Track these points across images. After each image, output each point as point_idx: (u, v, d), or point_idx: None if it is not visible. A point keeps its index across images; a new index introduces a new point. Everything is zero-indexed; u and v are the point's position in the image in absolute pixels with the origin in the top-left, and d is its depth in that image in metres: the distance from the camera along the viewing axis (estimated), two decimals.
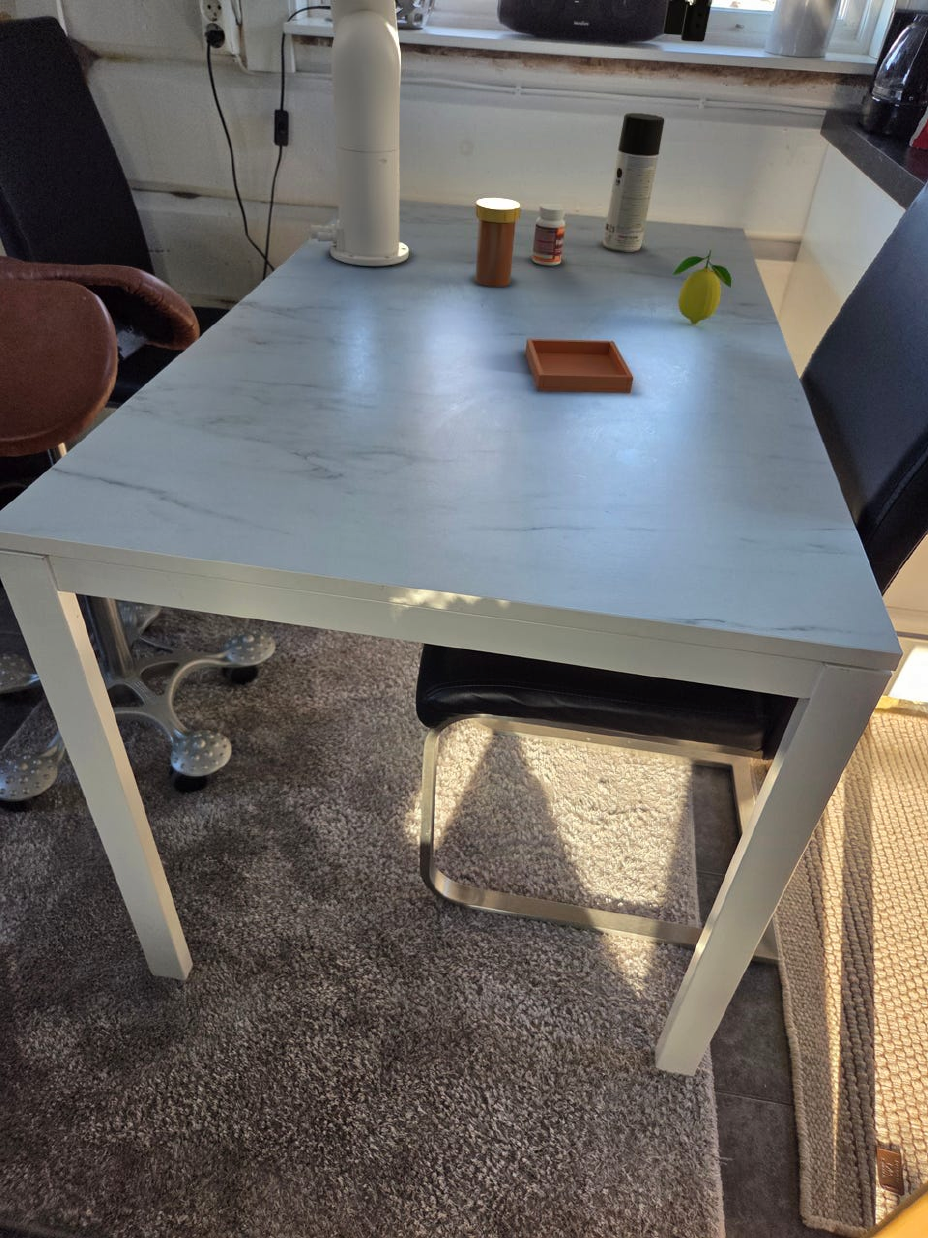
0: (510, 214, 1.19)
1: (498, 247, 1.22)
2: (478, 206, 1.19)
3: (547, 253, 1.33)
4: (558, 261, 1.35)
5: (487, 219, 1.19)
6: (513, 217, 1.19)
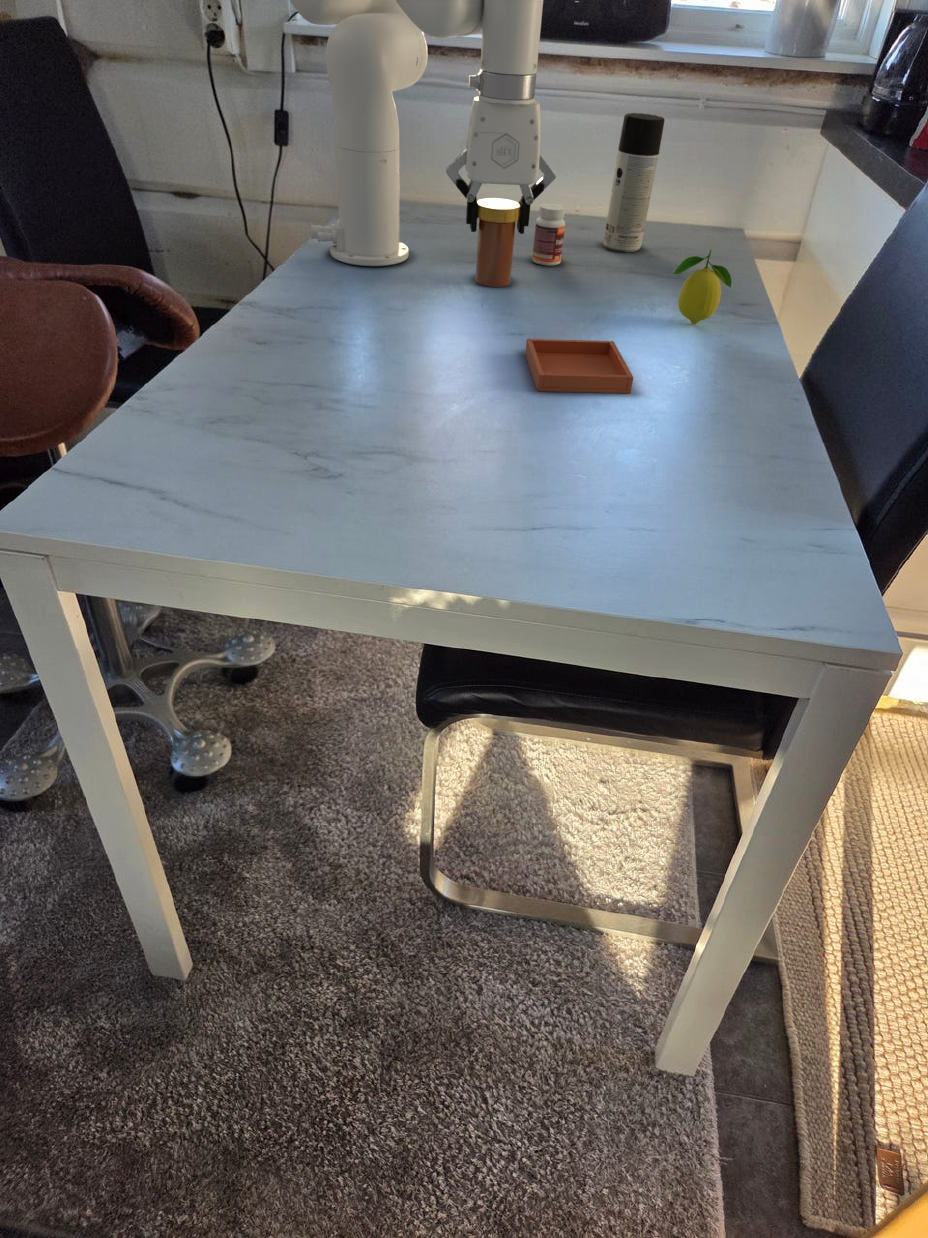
0: (510, 214, 1.19)
1: (498, 247, 1.22)
2: (478, 206, 1.19)
3: (547, 253, 1.33)
4: (558, 261, 1.35)
5: (487, 219, 1.19)
6: (513, 217, 1.19)
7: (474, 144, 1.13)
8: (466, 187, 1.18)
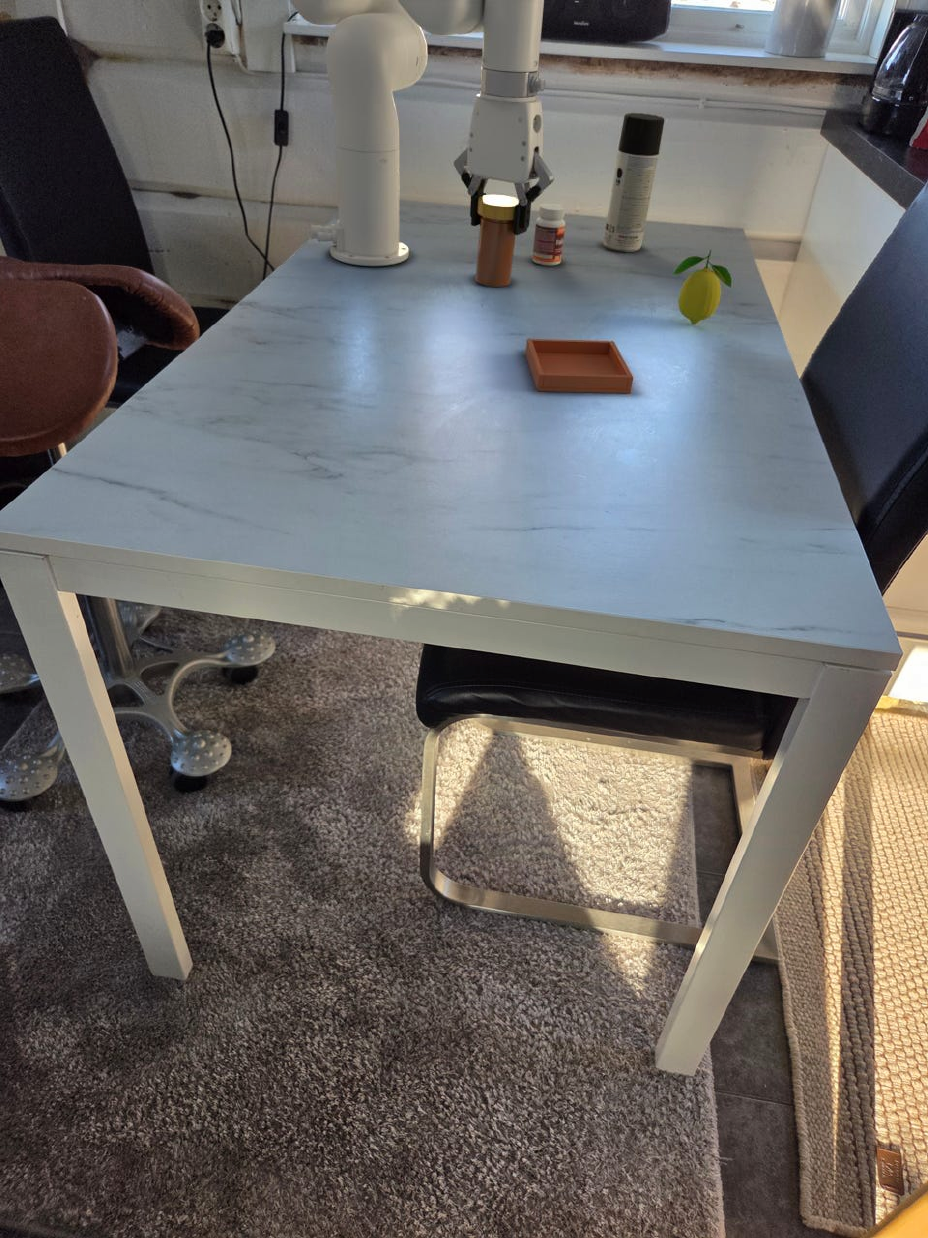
0: None
1: (499, 247, 1.21)
2: None
3: (547, 253, 1.33)
4: (558, 261, 1.35)
5: None
6: None
7: None
8: None
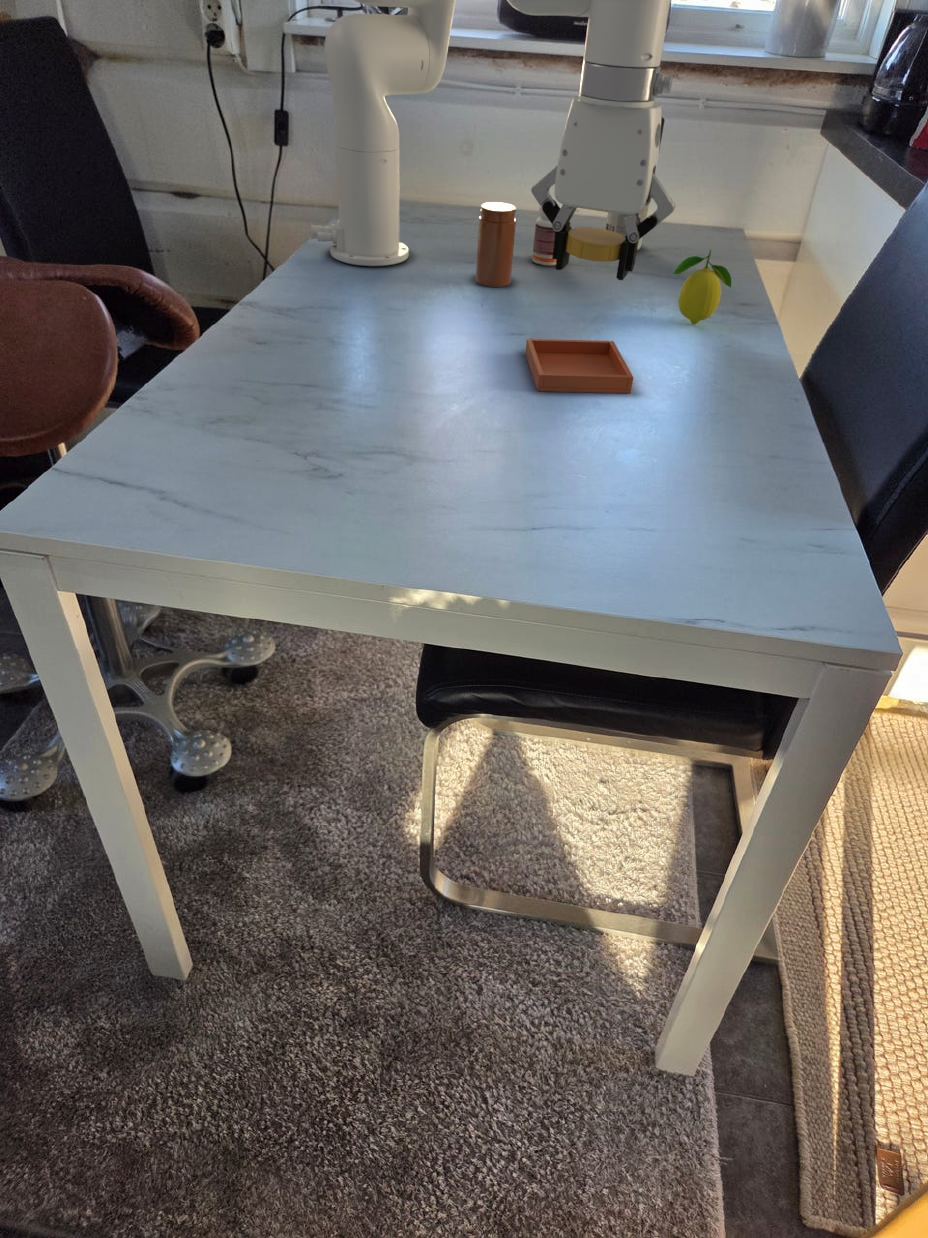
0: None
1: (498, 247, 1.22)
2: None
3: (547, 253, 1.33)
4: None
5: None
6: None
7: None
8: None
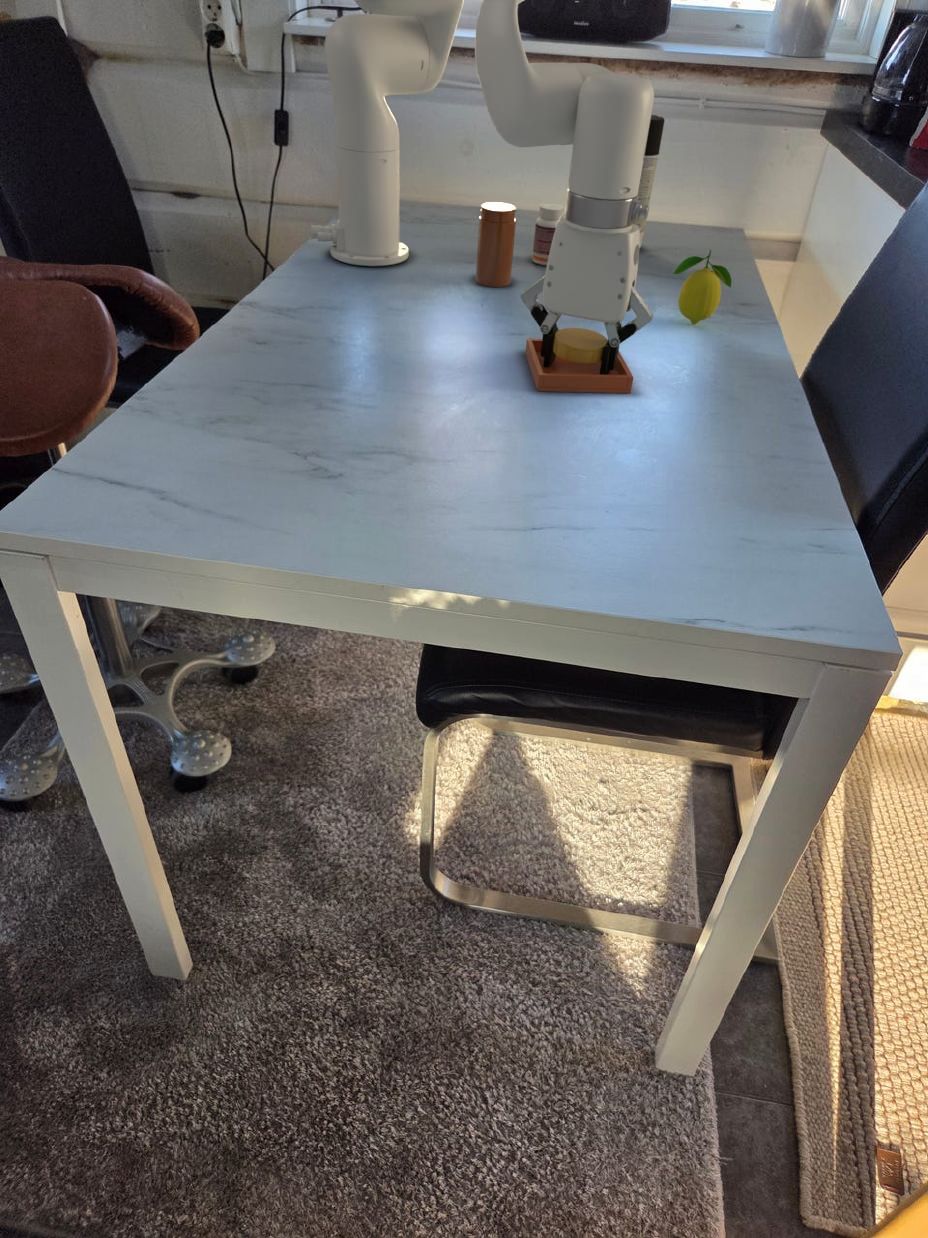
0: None
1: (498, 247, 1.22)
2: None
3: (547, 253, 1.33)
4: None
5: None
6: None
7: None
8: (625, 327, 0.97)
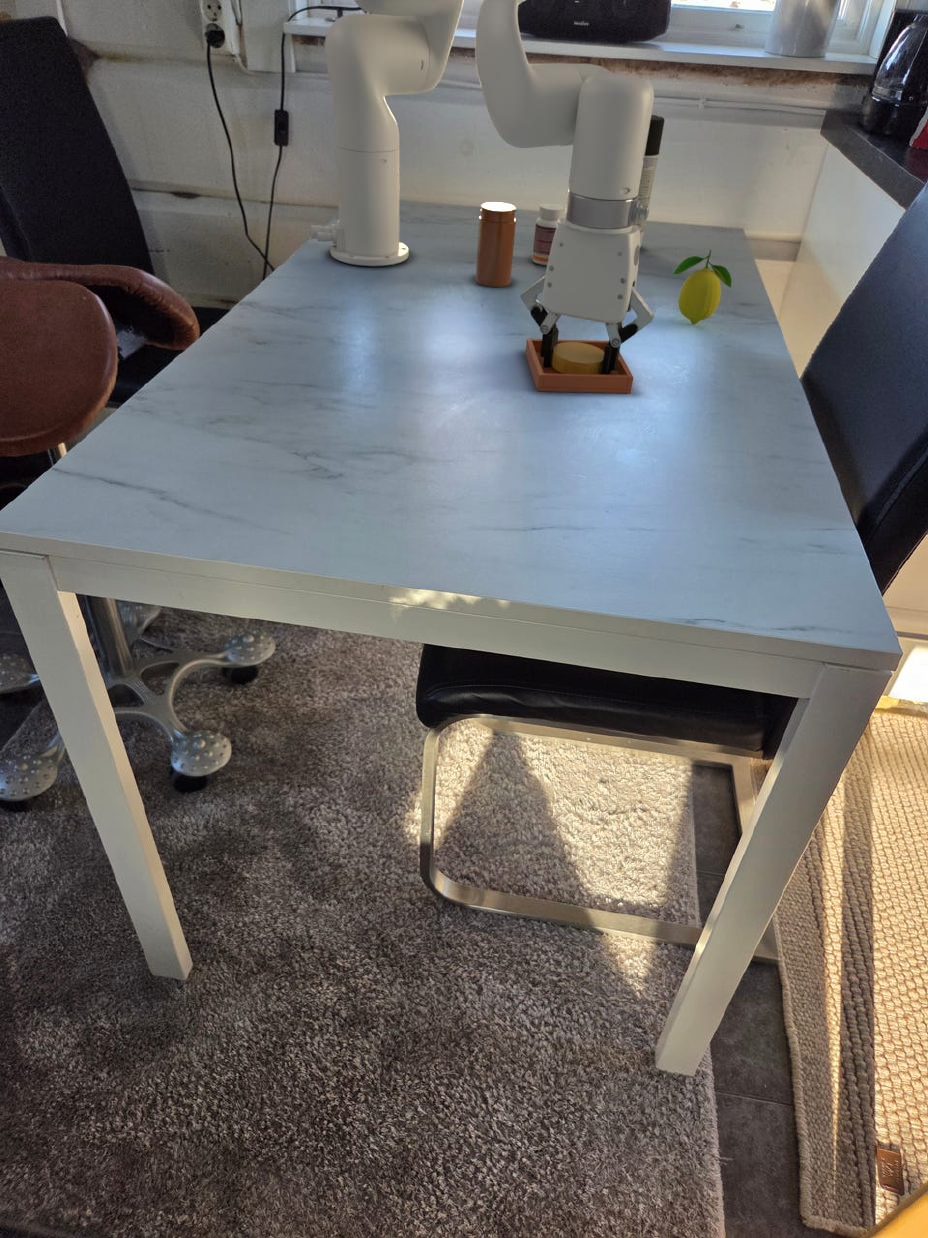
0: None
1: (498, 247, 1.22)
2: None
3: (547, 253, 1.33)
4: None
5: None
6: None
7: None
8: None
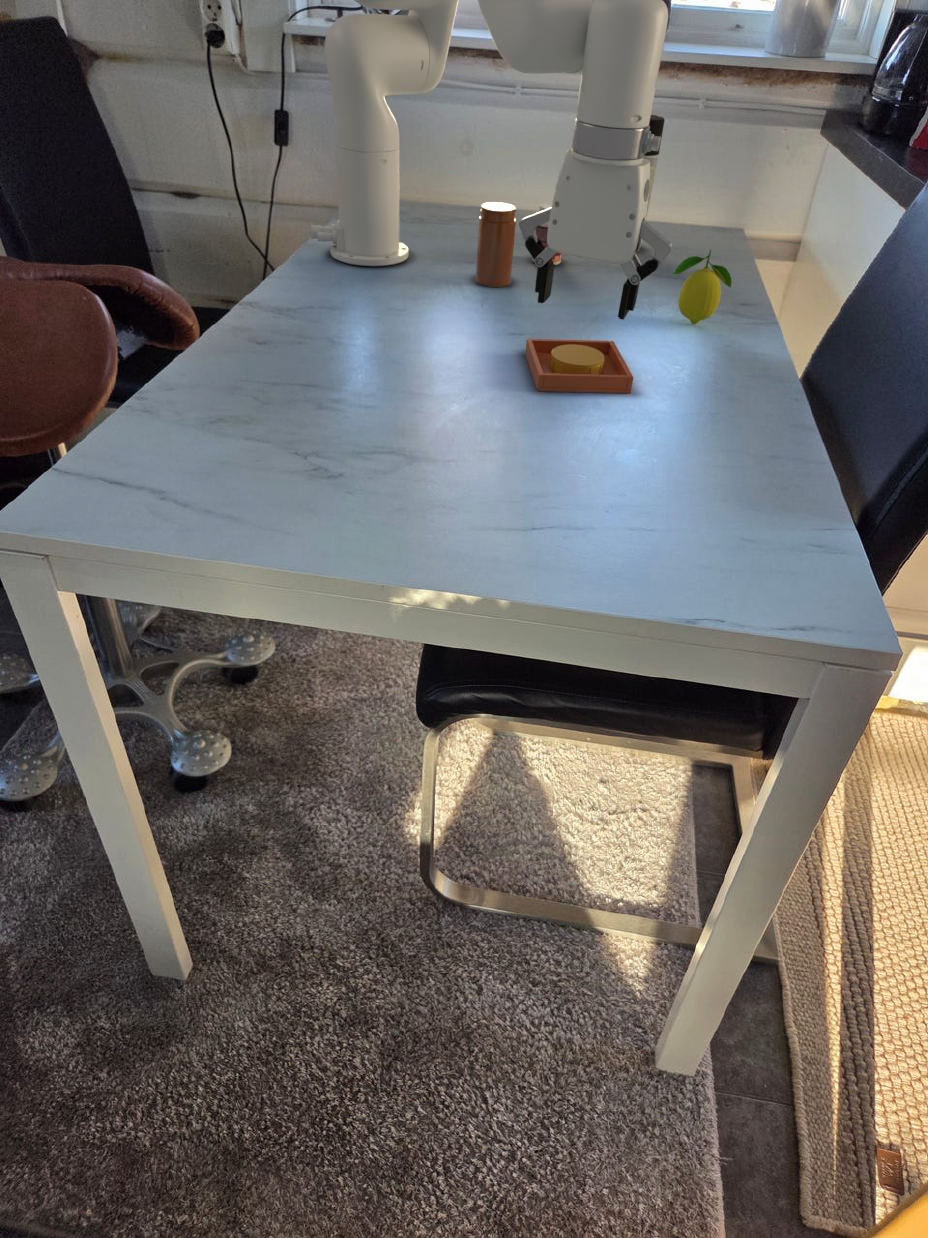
0: None
1: (498, 247, 1.22)
2: (603, 357, 1.01)
3: None
4: (558, 261, 1.35)
5: None
6: None
7: None
8: None
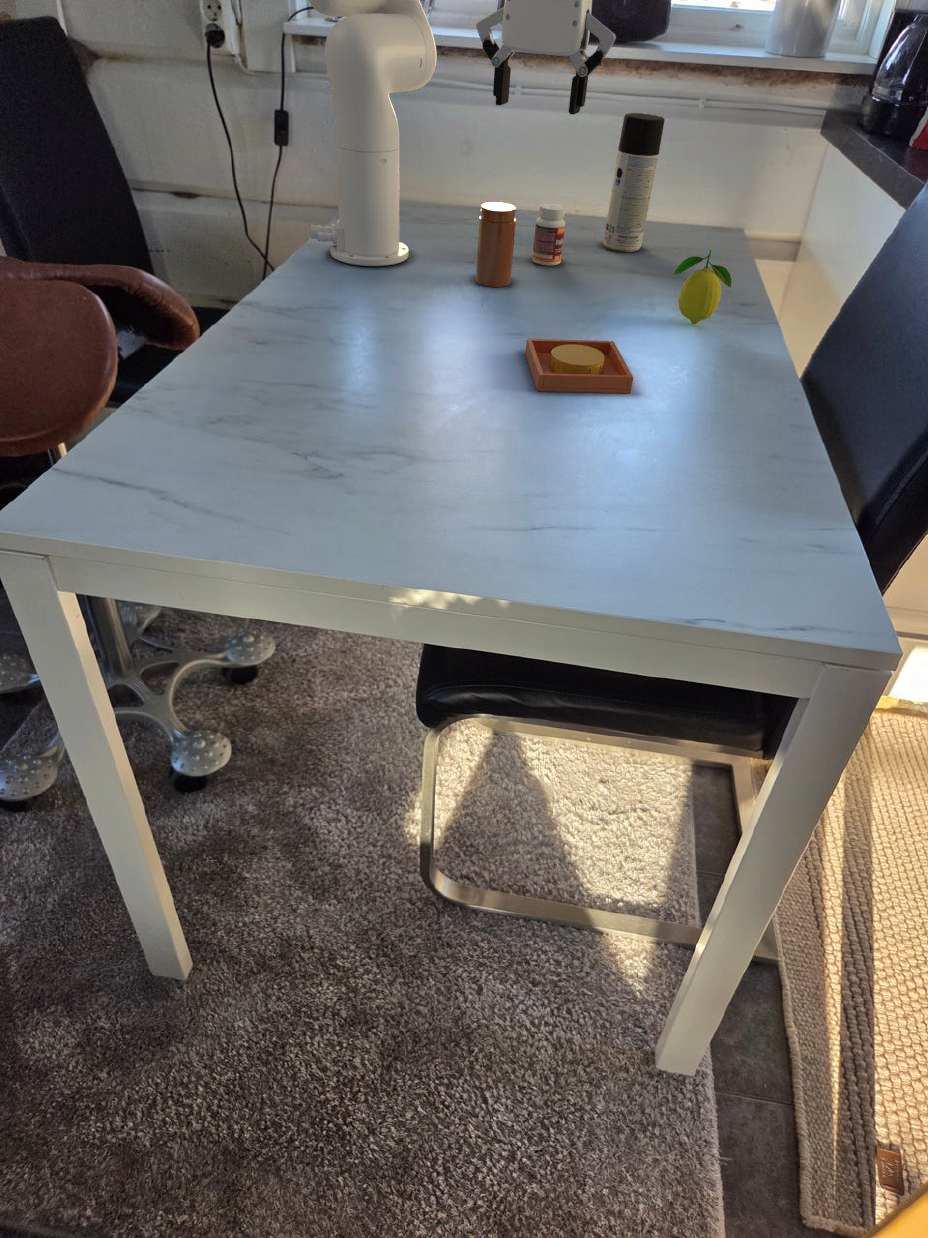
0: None
1: (498, 247, 1.22)
2: (603, 357, 1.01)
3: (547, 253, 1.33)
4: (558, 261, 1.35)
5: None
6: None
7: None
8: None
